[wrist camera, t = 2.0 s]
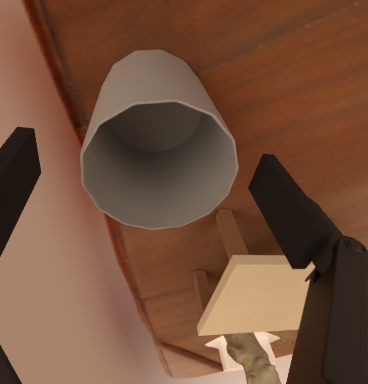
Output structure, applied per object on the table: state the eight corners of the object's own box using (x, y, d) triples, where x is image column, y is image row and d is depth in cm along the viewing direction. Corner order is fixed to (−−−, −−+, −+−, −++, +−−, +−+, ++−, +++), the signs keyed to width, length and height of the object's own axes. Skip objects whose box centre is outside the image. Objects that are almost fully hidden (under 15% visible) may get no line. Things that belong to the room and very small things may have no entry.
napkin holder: (203, 345, 57) (209, 375, 53) (244, 324, 53) (253, 355, 48) (243, 355, 65) (251, 382, 61) (281, 337, 61) (292, 365, 56)
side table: (215, 204, 30) (236, 265, 24) (325, 211, 33) (368, 265, 27) (188, 278, 39) (198, 336, 33) (277, 277, 42) (301, 329, 36)
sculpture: (259, 292, 45) (301, 400, 33) (231, 311, 48) (260, 415, 37) (235, 284, 42) (272, 399, 31) (207, 305, 45) (231, 416, 34)
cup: (205, 46, 19) (248, 93, 12) (202, 144, 25) (231, 220, 17) (88, 53, 18) (54, 107, 11) (112, 152, 24) (99, 236, 16)
